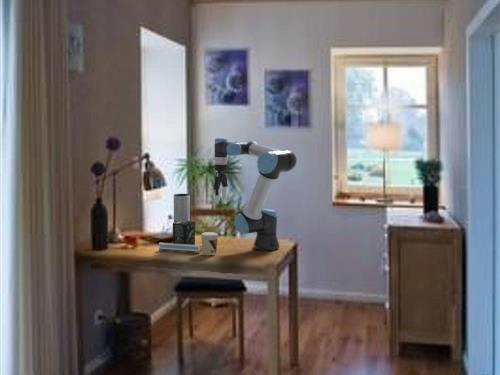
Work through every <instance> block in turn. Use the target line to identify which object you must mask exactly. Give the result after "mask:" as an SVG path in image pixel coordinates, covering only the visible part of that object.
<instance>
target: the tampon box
mask: <svg viewBox="0 0 500 375" xmlns="http://www.w3.org/2000/svg"><path fill="white" fill-rule="evenodd" d="M172 244H186V245H196V221H195V220H190V221H187V220H181V221H178V222H175V223H174V222H173V223H172Z"/></svg>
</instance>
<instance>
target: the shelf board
mask: <svg viewBox="0 0 500 375" xmlns="http://www.w3.org/2000/svg"><path fill="white" fill-rule="evenodd" d="M158 251H159V252H165V253H166V252H168V253H178V252H181V254H192V253H200V252H201V253H202V245H199V251H186V250H172V249H159V248H158ZM201 253H200V254H201Z"/></svg>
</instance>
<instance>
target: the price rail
mask: <svg viewBox="0 0 500 375" xmlns="http://www.w3.org/2000/svg"><path fill="white" fill-rule="evenodd" d="M199 246H200V244H199V245H198V244H197V245H196V244H195V245H186V244H173V243H171V242H169V243H168V242H159V243H158V250H159V249H172V250H186V251H199Z"/></svg>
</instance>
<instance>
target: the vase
mask: <svg viewBox="0 0 500 375" xmlns="http://www.w3.org/2000/svg"><path fill="white" fill-rule="evenodd" d="M190 198H191V194H189V193H175V194H173V223H175V222H178V221H181V220H187V221H191V218H190V217H191V213H190V212H191V209H190V208H191V204H190V202H191V201H190V200H191V199H190Z"/></svg>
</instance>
